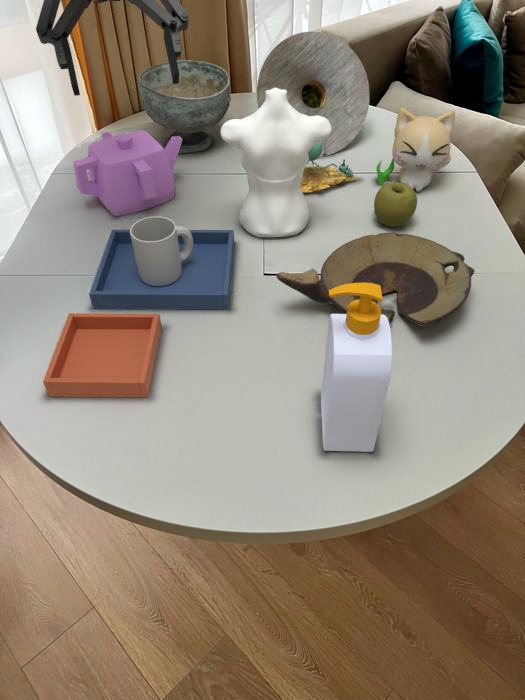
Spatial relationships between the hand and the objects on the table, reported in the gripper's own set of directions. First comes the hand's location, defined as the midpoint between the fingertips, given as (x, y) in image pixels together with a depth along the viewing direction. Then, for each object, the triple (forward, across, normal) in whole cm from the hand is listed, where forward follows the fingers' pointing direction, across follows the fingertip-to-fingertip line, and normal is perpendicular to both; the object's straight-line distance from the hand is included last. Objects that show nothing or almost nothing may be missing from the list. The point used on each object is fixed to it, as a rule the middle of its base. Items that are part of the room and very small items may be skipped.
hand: (127, 85), depth 77 cm
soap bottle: (+51, -18, +8) cm, 54 cm away
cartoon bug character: (+9, -35, -33) cm, 49 cm away
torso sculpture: (+18, -23, -24) cm, 38 cm away
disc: (-5, -41, -47) cm, 63 cm away
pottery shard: (+34, -32, -8) cm, 48 cm away
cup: (+24, -1, -18) cm, 30 cm away
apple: (+22, -44, -21) cm, 53 cm away
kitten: (+13, -54, -29) cm, 63 cm away
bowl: (-8, -14, -51) cm, 53 cm away
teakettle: (+4, +1, -38) cm, 38 cm away
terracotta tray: (+36, +10, -6) cm, 38 cm away
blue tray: (+24, -1, -18) cm, 30 cm away
